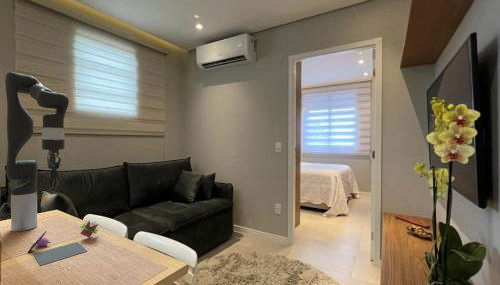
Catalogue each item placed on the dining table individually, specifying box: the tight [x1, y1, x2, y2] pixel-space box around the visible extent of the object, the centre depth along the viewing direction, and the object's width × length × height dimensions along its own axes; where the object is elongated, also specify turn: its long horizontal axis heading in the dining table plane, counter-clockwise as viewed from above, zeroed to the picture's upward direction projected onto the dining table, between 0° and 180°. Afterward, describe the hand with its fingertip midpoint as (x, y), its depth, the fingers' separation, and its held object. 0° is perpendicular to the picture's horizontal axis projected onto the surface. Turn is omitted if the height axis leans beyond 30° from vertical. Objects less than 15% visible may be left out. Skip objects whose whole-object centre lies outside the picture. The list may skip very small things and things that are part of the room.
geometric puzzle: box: [79, 219, 99, 238], centre depth 106 cm, size 7×7×8 cm
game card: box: [27, 230, 52, 254], centre depth 97 cm, size 7×5×9 cm
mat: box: [33, 241, 88, 267], centre depth 92 cm, size 13×14×1 cm
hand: (53, 178), depth 102 cm, fingers closed
